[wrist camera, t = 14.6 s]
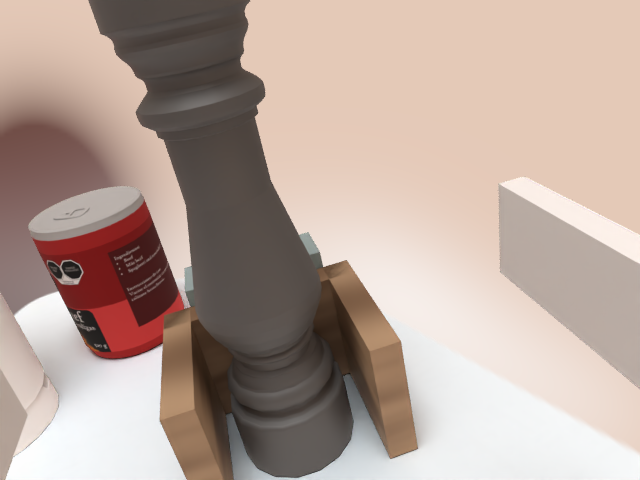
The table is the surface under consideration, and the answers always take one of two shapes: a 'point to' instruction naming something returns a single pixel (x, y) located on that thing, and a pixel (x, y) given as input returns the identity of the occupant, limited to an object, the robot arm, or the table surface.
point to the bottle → (25, 378)
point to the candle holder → (236, 227)
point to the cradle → (214, 359)
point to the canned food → (109, 269)
